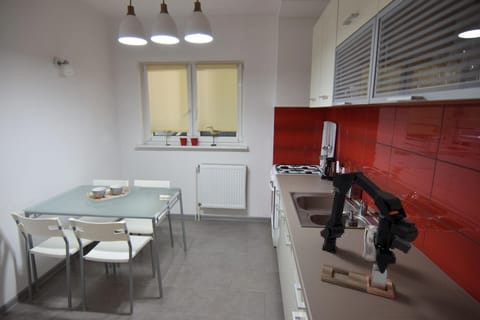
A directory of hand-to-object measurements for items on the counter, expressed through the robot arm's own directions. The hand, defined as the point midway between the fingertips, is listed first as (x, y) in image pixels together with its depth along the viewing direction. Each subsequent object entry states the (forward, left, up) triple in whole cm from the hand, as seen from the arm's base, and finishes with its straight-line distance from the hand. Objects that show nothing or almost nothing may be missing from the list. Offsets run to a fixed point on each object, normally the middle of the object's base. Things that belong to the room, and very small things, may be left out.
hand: (380, 266), depth 103 cm
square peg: (0, 0, -9) cm, 9 cm away
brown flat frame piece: (0, -8, -9) cm, 12 cm away
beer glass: (-21, -2, -9) cm, 23 cm away
